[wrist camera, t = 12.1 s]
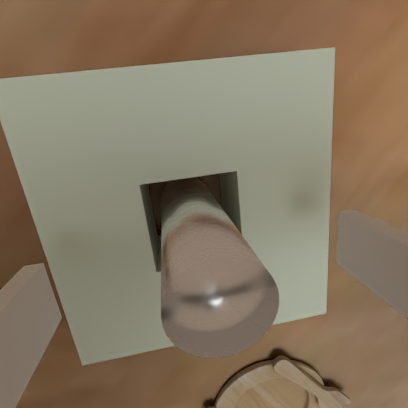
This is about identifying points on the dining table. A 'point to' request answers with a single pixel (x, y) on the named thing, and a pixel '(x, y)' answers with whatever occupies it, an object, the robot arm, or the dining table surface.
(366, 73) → the dining table surface
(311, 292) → the pin block
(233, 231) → the long pin
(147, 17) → the dining table surface
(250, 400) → the tableware set
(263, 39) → the dining table surface
